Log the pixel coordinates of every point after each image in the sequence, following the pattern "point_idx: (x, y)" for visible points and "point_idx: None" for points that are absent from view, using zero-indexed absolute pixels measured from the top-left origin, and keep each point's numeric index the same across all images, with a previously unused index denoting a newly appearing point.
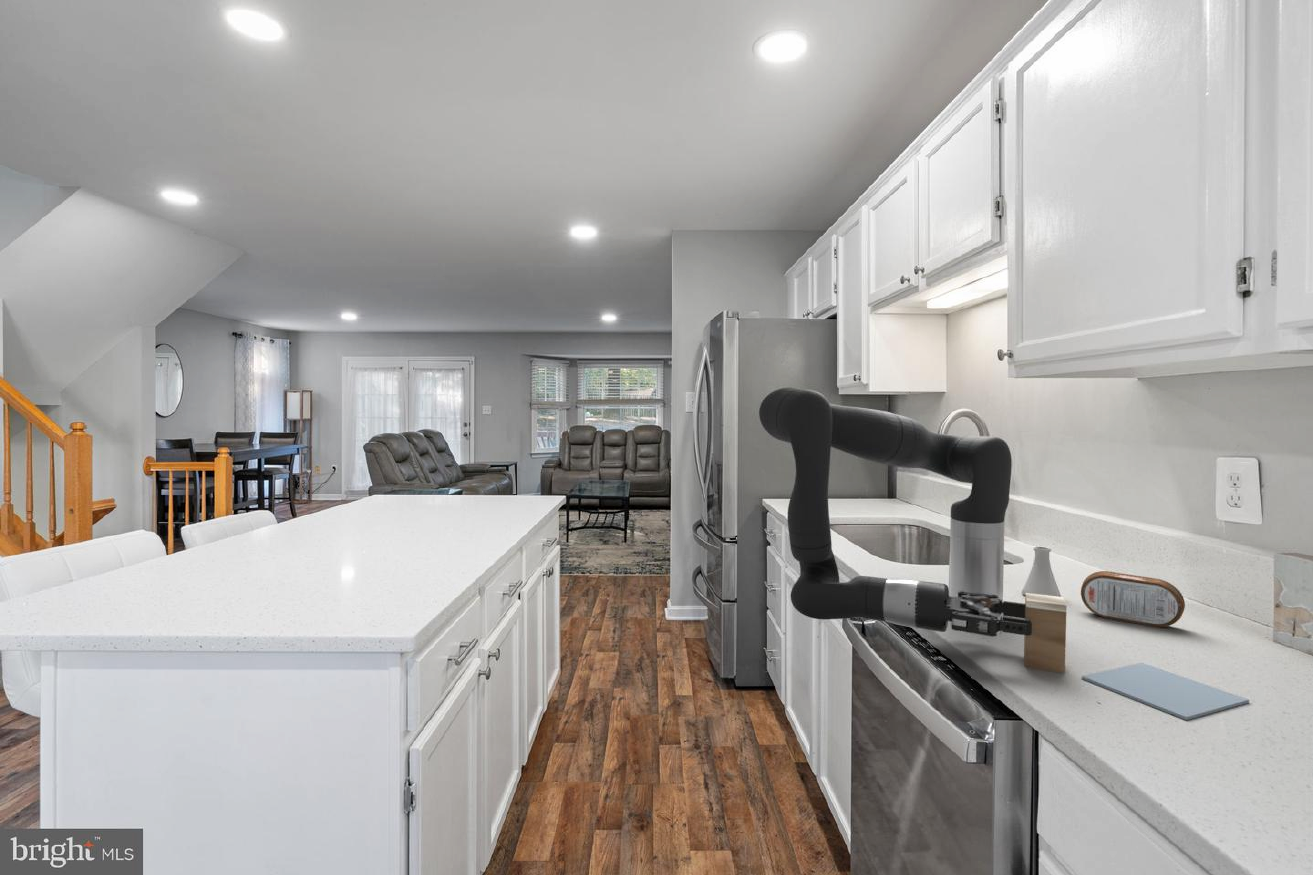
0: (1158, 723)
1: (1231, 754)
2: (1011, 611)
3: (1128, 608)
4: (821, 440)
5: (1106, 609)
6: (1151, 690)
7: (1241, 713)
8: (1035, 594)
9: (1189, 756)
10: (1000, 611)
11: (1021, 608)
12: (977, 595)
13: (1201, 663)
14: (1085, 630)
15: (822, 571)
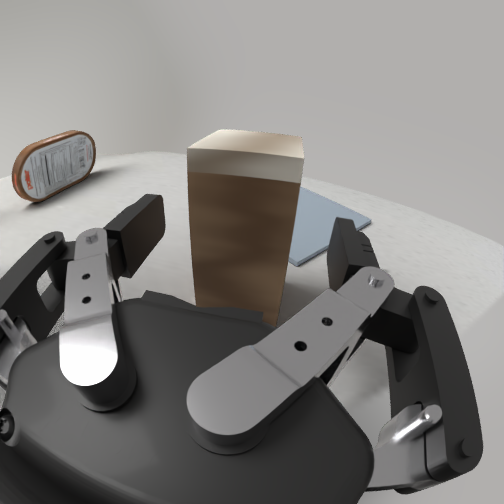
0: (398, 241)
1: (417, 224)
2: (140, 245)
3: (60, 174)
4: None
5: (44, 189)
6: (309, 218)
7: (318, 193)
8: (206, 141)
9: (446, 245)
10: (120, 272)
11: (152, 215)
12: (20, 285)
13: (184, 178)
14: (71, 218)
15: None
